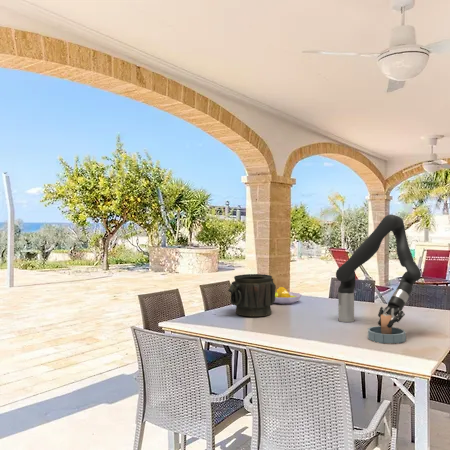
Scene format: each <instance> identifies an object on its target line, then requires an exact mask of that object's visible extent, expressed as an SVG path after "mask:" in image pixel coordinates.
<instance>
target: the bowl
mask: <svg viewBox="0 0 450 450" xmlns="http://www.w3.org/2000/svg"><path fill="white" fill-rule="evenodd" d="M367 339H368V340H369V339H370V340H369V341H371V340H372V341H371V342H373V341H375V342H374V343H377V342H379V343H378V344H384V343H399V344H403V343H405V342H406V341H407V340H406V339H407V332H406V331H405V329H403V328H399V327H394V326H392V334H381V326H379V325H377V326H370V327H368V328H367Z"/></svg>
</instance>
